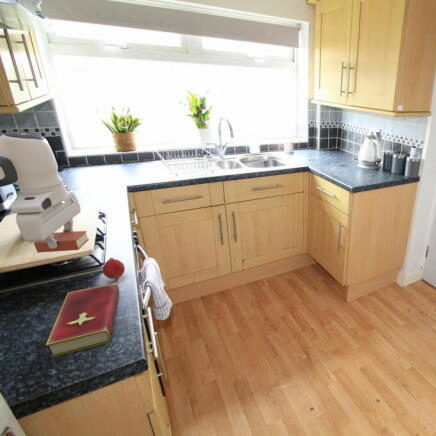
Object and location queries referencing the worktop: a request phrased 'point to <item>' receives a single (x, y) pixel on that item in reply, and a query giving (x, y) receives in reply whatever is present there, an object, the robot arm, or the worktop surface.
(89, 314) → the hardcover book
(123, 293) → the worktop surface
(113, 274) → the red round piece
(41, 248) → the pocket book
